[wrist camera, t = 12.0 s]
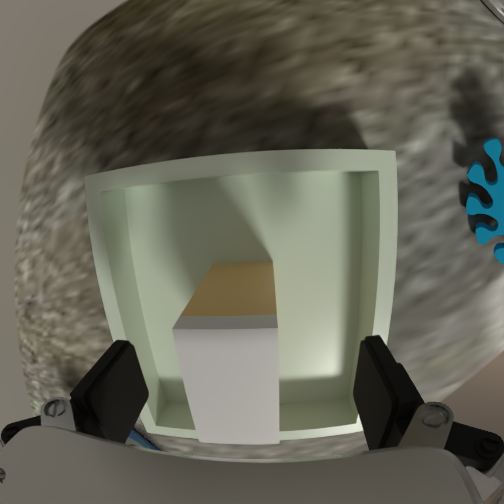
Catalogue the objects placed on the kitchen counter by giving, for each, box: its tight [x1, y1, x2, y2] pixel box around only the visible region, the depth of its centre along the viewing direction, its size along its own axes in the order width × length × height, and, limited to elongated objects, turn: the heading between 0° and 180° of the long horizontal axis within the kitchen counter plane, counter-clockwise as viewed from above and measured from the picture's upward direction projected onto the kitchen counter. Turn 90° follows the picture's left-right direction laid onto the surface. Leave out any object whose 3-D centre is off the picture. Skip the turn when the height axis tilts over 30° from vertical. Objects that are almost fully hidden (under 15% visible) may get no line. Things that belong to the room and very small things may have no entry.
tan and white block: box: [172, 261, 279, 444], centre depth 14 cm, size 4×6×8 cm, turn 3°
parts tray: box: [84, 149, 398, 440], centre depth 16 cm, size 16×18×4 cm
